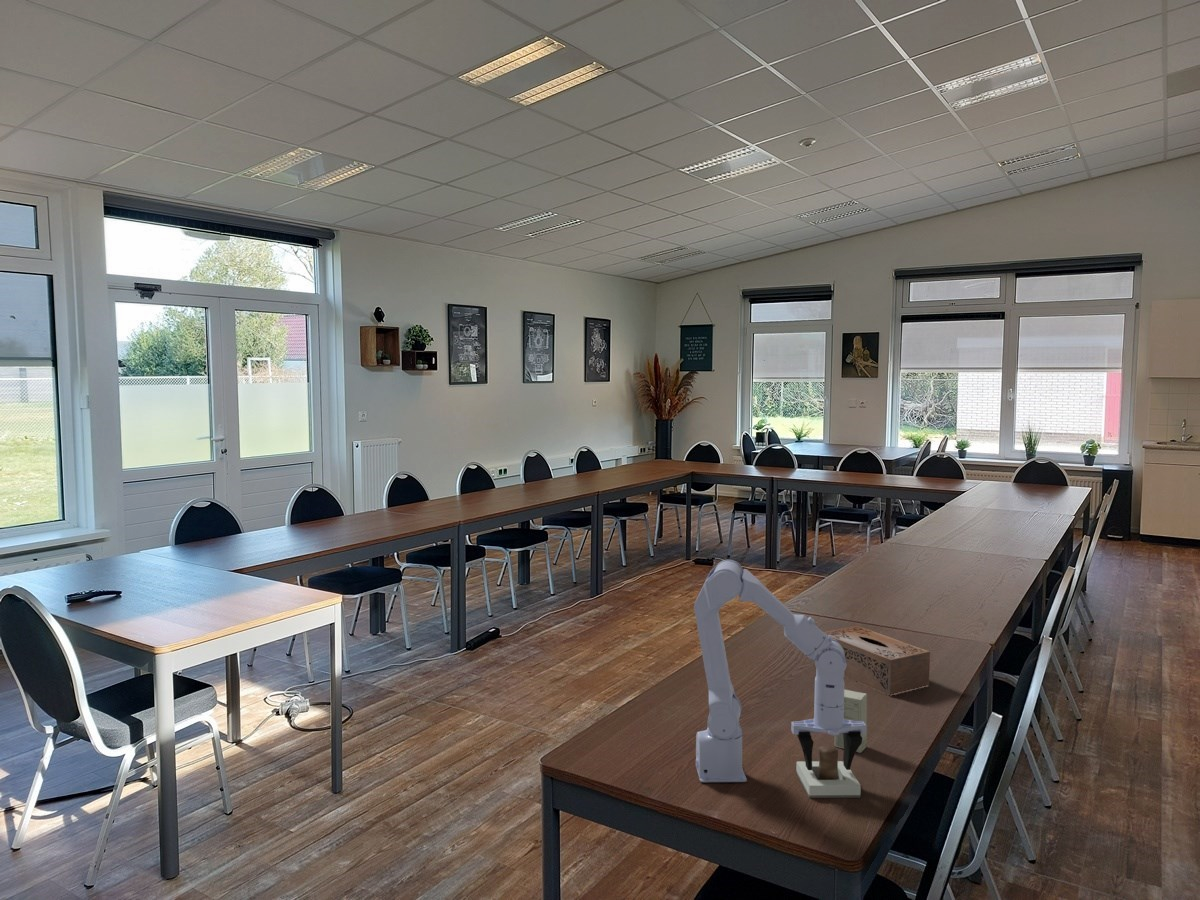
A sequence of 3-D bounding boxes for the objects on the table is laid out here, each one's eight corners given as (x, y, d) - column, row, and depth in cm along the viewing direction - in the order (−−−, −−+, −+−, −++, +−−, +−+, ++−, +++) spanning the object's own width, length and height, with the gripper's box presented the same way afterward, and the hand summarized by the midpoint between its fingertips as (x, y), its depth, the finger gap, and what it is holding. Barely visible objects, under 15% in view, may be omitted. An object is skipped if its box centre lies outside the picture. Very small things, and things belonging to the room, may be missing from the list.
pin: (820, 787, 159) (821, 753, 159) (817, 778, 163) (817, 745, 162) (838, 788, 159) (839, 754, 158) (835, 779, 162) (836, 746, 162)
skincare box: (867, 746, 178) (868, 693, 177) (860, 754, 174) (862, 700, 173) (839, 739, 182) (840, 687, 181) (832, 746, 178) (833, 693, 177)
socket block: (809, 797, 156) (809, 785, 156) (796, 773, 166) (796, 761, 166) (860, 797, 156) (860, 785, 156) (844, 772, 166) (844, 761, 166)
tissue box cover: (819, 666, 229) (820, 632, 228) (857, 658, 236) (857, 625, 235) (889, 697, 206) (890, 660, 206) (928, 688, 213) (930, 651, 212)
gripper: (797, 710, 156) (796, 777, 157) (872, 709, 156) (870, 777, 157) (789, 696, 163) (788, 760, 164) (860, 695, 163) (858, 760, 164)
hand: (827, 767), depth 161 cm, fingers open, 7 cm apart
